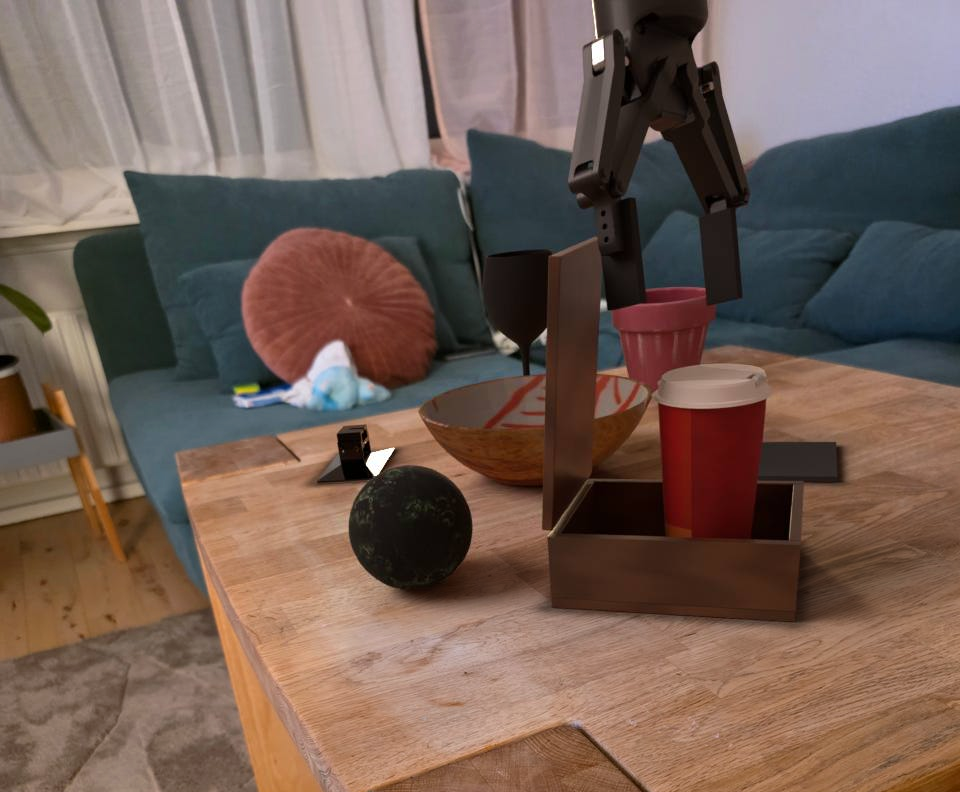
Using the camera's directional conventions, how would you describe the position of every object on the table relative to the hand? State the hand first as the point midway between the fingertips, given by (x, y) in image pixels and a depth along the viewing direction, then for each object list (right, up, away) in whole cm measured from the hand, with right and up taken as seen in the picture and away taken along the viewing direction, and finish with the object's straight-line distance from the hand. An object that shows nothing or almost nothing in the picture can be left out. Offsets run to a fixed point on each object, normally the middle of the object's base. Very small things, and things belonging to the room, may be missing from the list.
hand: (679, 304), depth 65 cm
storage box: (+1, -19, +6) cm, 20 cm away
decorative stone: (-20, -20, +9) cm, 30 cm away
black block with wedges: (-29, -4, +43) cm, 52 cm away
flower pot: (+12, +12, +64) cm, 66 cm away
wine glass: (-8, +9, +63) cm, 64 cm away
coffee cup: (+3, -19, +5) cm, 20 cm away
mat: (+17, -6, +29) cm, 34 cm away
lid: (-7, -5, +1) cm, 9 cm away
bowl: (-8, -6, +34) cm, 36 cm away
